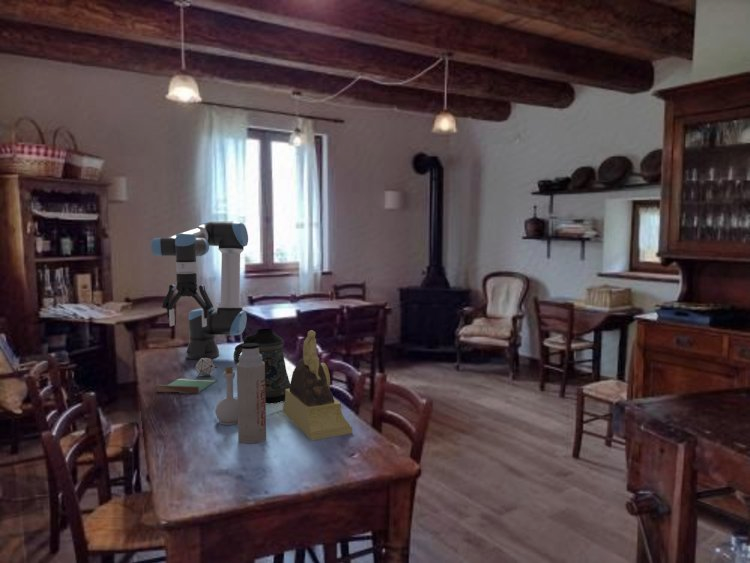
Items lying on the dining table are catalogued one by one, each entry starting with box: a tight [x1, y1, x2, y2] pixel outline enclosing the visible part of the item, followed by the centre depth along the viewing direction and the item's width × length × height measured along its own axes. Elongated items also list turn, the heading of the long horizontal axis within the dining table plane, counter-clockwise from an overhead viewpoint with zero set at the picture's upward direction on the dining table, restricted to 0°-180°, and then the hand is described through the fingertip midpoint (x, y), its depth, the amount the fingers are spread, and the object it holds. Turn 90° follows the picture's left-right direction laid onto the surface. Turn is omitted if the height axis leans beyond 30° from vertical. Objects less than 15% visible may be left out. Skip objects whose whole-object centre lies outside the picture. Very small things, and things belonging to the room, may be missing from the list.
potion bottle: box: [214, 366, 238, 426], centre depth 176 cm, size 9×9×18 cm
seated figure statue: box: [282, 330, 353, 441], centre depth 175 cm, size 28×13×30 cm, turn 26°
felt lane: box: [168, 377, 218, 393], centre depth 217 cm, size 17×16×1 cm
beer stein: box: [233, 328, 291, 405], centre depth 200 cm, size 16×19×25 cm
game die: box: [193, 356, 218, 378], centre depth 231 cm, size 9×8×10 cm
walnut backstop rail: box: [156, 384, 200, 395], centre depth 208 cm, size 1×16×2 cm, turn 82°
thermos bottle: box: [236, 343, 267, 444], centre depth 161 cm, size 8×8×28 cm
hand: (188, 326), depth 221 cm, fingers open, 13 cm apart
